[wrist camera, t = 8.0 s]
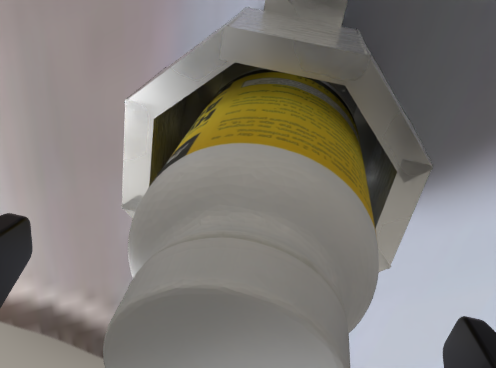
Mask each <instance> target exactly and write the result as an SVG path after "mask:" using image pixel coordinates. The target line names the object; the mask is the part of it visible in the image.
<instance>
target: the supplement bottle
mask: <svg viewBox="0 0 496 368" xmlns="http://www.w3.org/2000/svg"><path fill="white" fill-rule="evenodd" d="M128 258H129V264H130V270H131V274H132V277H133V280H132V282H131V283H130V285H129V287H128V289H127V292H126V294H125V296H124V297H123V299H122V301H121V303H120V305H119V306H118V308H117V310H116V312H115V314H114V316H113V318H112V320H111V321H110V324H109V325H108V328H107V331H106V334H105V339H104V347H103V358H104V364H105V368H350V352H349V333H350V332H351V331H352V330H353V329H354V328H355V327H356V325H357V324H358V323H359V322H360V321H361V319H362V318H363V316H364V314H365V313H366V311H367V309H368V308H369V305H370V303H371V301H372V299H373V295H374V292H375V289H376V285H377V280H378V273H379V257H378V243H377V236H376V230H375V224H374V219H373V213H372V207H371V202H370V196H369V191H368V185H367V179H366V173H365V167H364V162H363V156H362V150H361V145H360V139H359V134H358V130H357V127H356V123H355V120H354V117H353V115H352V112H351V110H350V108H349V106H348V105H347V103H346V102H345V100H344V99H343V98H342V96H341V95H340V94H339V93H338V92H337V91H336V90H335V89H334V88H333V87H332V86H331V85H329V84H328V83H327V82H326V81H322V80H317V79H312V78H307V77H303V76H298V75H293V74H288V73H283V72H279V71H274V70H269V69H264V68H258V69H254V70H251V71H248V72H245V73H243V74H241V75H239V76H237V77H236V78H234V79H232V80H231V81H229V82H228V83H227V84H226V85H225V86H223V87H222V88H221V89H220V90H219V91H218V92H217V93H216V95H215V96H214V97H213V98H212V99H211V100H210V102H209V103H208V104H207V106H206V107H205V109H204V110H203V111H202V113H201V115H200V116H199V117H198V119H197V120H196V122H195V123H194V124H193V126H192V127H191V129H190V130H189V132H188V133H187V134H186V136H185V137H184V139H183V140H182V141H181V143H180V144H179V146H178V147H177V149H176V150H175V151H174V153H173V154H172V156H171V157H170V158H169V160H168V161H167V163H166V164H165V166H164V167H163V168H162V169H161V171H160V172H159V173H158V174H157V176H156V177H155V179H154V180H153V182H152V184H151V185H150V186H149V188H148V190H147V192H146V193H145V195H144V196H143V198H142V199H141V201H140V203H139V205H138V207H137V209H136V211H135V214H134V217H133V220H132V223H131V228H130V232H129V240H128Z"/></svg>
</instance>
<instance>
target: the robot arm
mask: <svg viewBox="0 0 496 368" xmlns="http://www.w3.org/2000/svg"><path fill="white" fill-rule="evenodd" d="M31 254H32V237H31V226H30V221H29V219H28V218H27V217H25V216H20V215H16V214H11V213H7V214H4V215H1V216H0V308H1V306H2V305H3V303H4V301H5V300H6V298H7V296H8V295H9V293H10V291H11V290H12V288H13V286H14V285H15V283H16V281H17V280H18V278H19V276H20V275H21V273H22V271H23V270H24V268H25V266H26V265H27V263H28V261H29V259H30V257H31ZM443 362H444V368H496V332H495V331H494V330H493V329H492V328H491V327H490V326H489V325H488V324H487V323H486V322H484V321H482V320H480V319H475V318H471V317H466V316H463V317H461V318H459V319H458V321H457V322H456V324H455V326H454V328H453V329H452V331H451V333H450V335H449V336H448V338H447V340H446V342H445V344H444V347H443Z"/></svg>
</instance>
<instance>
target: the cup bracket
mask: <svg viewBox="0 0 496 368" xmlns="http://www.w3.org/2000/svg"><path fill="white" fill-rule="evenodd" d="M347 3H348V0H265V6H264V11H263V10H258V9H253V8H250V7H245V8H244V9H243V10H242V11H241V12H240V13H238V14H237V15H236V16H235V17H234V18H233V19H231V20H230V21H229V22H227V23H226V24H225V25H223V26H222V27H221V28H219V29H218V30H217V31H215V32H214V33H212V34H211V35H209V36H208V37H207V38H206V39H205V40H203V41H202V42H201V43H199V44H198V45H197V46H195V47H194V48H193V49H191V50H190V51H189V52H187V53H186V54H185V55H183V56H182V57H180V58H179V59H178V60H176V61H175V62H174V63H172V64H171V65H170V66H168V67H165V68H164V69H163V70H161V71H160V72H159V73H158V74H156V75H155V76H154V77H153V78H151V79H150V80H149V81H148V82H146V83H145V84H144V85H143V86H141V87H140V88H139V89H138V90H136V91H135V92H134V93H133V94H131V95H130V96H129V97H128V98H126V99H125V102H124V103H125V127H124V158H123V188H122V205H121V207H122V209H124V210H125V211H126V212H127V213H128V215H129V216H130V217H131V218H132V219H133V217H134V214H135V211H136V209H137V207H138V205H139V203H140V201H141V199H142V198H143V196H144V195H145V193H146V192H147V190H148V188H149V186H150V185H151V184H152V182H153V180H154V179H155V177H156V176H157V174H158V173H159V172H160V171H161V169H162V168H163V167H164V166H165V164H166V163H167V161H168V160H169V158H170V157H171V156H172V154H173V153H174V151H175V150H176V149H177V147H178V146H179V144H180V143H181V141H182V140H183V139H184V137H185V136H186V134H187V133H188V132H189V130H190V129H191V127H192V126H193V124H194V123H195V122H196V120H197V119H198V117H199V116H200V115H201V113H202V111H203V110H204V109H205V107H206V106H207V104H208V103H209V102H210V100H211V99H212V98H213V97H214V96H215V95H216V93H217V92H218V91H219V90H220V89H221V88H222V87H223V86H225V85H226V84H227V83H228V82H229V81H231V80H232V79H234V78H236V77H237V76H239V75H241V74H243V73H245V72H248V71H251V70H254V69H258V68H264V69H269V70H274V71H279V72H283V73H288V74H293V75H298V76H303V77H307V78H312V79H317V80H322V81H326V82H327V83H328V84H329V85H331V86H332V87H333V88H334V89H335V90H336V91H337V92H338V93H339V94H340V95H341V96H342V98H343V99H344V100H345V102H346V103H347V105H348V106H349V108H350V110H351V112H352V115H353V117H354V120H355V123H356V127H357V130H358V134H359V139H360V145H361V150H362V156H363V162H364V167H365V173H366V179H367V185H368V191H369V196H370V202H371V207H372V213H373V219H374V224H375V230H376V236H377V243H378V257H379V272H380V271H383V270H385V269H389V268H390V267H391V263H392V261H393V258H394V256H395V254H396V251H397V249H398V247H399V244H400V242H401V240H402V237H403V235H404V233H405V230H406V228H407V226H408V223H409V221H410V219H411V216H412V214H413V212H414V209H415V207H416V205H417V202H418V200H419V198H420V195H421V193H422V191H423V188H424V186H425V184H426V181H427V179H428V177H429V174H430V172H431V170H432V169H433V164H432V162H431V160H430V158H429V156H428V154H427V152H426V150H425V148H424V146H423V145H422V143H421V141H420V139H419V137H418V135H417V133H416V131H415V129H414V127H413V125H412V123H411V121H410V119H409V118H407V116H406V114H405V113H404V111H403V109H402V107H401V106H400V104H399V102H398V100H397V99H396V97H395V95H394V93H393V91H392V90H391V88H390V86H389V84H388V83H387V81H386V79H385V77H384V75H383V73H382V71H381V69H380V68H379V66H378V65H377V63H376V62H375V60H374V58H373V56H372V54H371V53H370V51H369V49H368V47H367V46H366V44H365V42H364V40H363V37H362V35H361V33H360V31H359V30H357V28H356V29H351V28H346V27H342V26H341V25H342V22H343V18H344V14H345V10H346V6H347Z"/></svg>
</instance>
